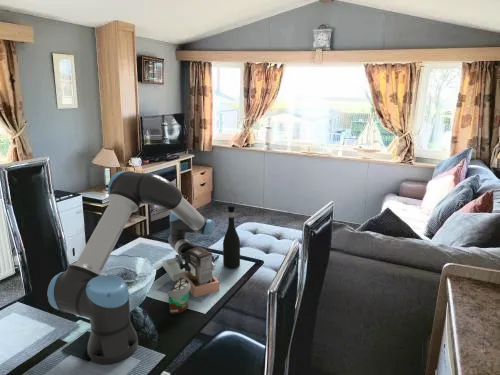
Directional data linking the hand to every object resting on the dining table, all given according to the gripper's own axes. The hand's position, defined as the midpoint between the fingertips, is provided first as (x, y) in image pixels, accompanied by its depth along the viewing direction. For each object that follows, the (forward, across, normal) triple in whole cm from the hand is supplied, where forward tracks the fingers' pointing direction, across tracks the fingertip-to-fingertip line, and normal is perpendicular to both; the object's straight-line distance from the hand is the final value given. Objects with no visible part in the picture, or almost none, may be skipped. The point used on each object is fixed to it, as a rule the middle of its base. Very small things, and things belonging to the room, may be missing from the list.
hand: (204, 270), depth 147 cm
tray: (-22, 0, -10) cm, 24 cm away
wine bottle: (-15, -20, -10) cm, 27 cm away
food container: (+7, +12, -10) cm, 17 cm away
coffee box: (-5, 0, -10) cm, 11 cm away
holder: (-5, 0, -10) cm, 11 cm away
